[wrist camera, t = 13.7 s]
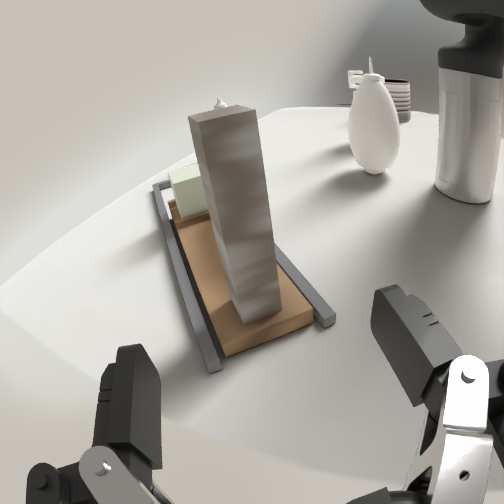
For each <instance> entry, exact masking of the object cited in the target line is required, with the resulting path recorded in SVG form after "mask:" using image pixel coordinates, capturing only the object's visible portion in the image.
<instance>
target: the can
mask: <svg viewBox="0 0 504 504" xmlns="http://www.w3.org/2000/svg"><path fill="white" fill-rule="evenodd" d="M383 84H384V85H385V87H386V88H387V90H388V91H389V93H390V95H391V97H392V100H393V102H394V105H395V108H396V111H397V114H398V119H399V122H408V121H409V120H410V83H409V82H406V81H401V80H391V79H385V83H383Z"/></svg>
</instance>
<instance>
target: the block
mask: <svg viewBox="0 0 504 504" xmlns="http://www.w3.org/2000/svg"><path fill="white" fill-rule="evenodd" d="M168 175H169V179H170V182H171V186H172V190H173V193H174V197H175V201H176V204H177V208H178V210H179V213H180V215H181V218H182V219H183V218H186V217H189V216H192V215H195V214H199V213H202V212H205V211H208V210H209V209H208V205H207V201H206V196H205V192H204V188H203V183H202V179H201V175H200V170H199V166H198V163H196V164H193V165H189V166H186V167H183V168H179V169H176V170H173V171H169V172H168Z"/></svg>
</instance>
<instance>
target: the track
mask: <svg viewBox="0 0 504 504" xmlns="http://www.w3.org/2000/svg"><path fill="white" fill-rule="evenodd" d="M152 186H153V190H154V194H155V198H156V202H157V206H158V210H159V214H160V218H161V221H162V225H163V229H164V233H165V236H166V240H167V244H168V247H169V251H170V254H171V258H172V261H173V265H174V268H175V272H176V275H177V278H178V282H179V285H180V288H181V292H182V295H183V298H184V301H185V304H186V308H187V311H188V314H189V317H190V320H191V323H192V326H193V329H194V332H195V335H196V338H197V341H198V344H199V347H200V350H201V353H202V355H203V358H204V361H205V364H206V367H207V369H208V371H209V373H210V374H211V373H214V372H216V371H219V370H222V369H223V368H222V365H221V362H220V360H219V357H218V355H217V352H216V350H215V347H214V345H213V342H212V340H211V337H210V334H209V332H208V329H207V327H206V324H205V321H204V319H203V316H202V313H201V311H200V308H199V305H198V303H197V300H196V297H195V294H194V292H193V289H192V286H191V283H190V280H189V278H188V275H187V272H186V269H185V266H184V263H183V260H182V257H181V254H180V251H179V248H178V245H177V242H176V239H175V236H174V233H173V230H172V227H171V224H170V221H169V218H168V215H167V211H166V208H165V205H164V202H163V198H162V195H161V192H160V190H162V189H165V188H168V187H171V182H170V179H169V180H166V181H163V182H160V183H157V184H153V185H152ZM274 247H275V255H276V263H277V264H278V265H279V266H280V268H281V269H282V270H283V271H284V273H285V274H286V275H287V276H288V278H289V279H290V280H291V281H292V283H293V284H294V285H295V286H296V288H297V289H298V290H299V291H300V293H301V294H302V295H303V296H304V298H305V299H306V300H307V301H308V303H309V304H310V305H311V307H312V308H313V314H314V316H315V317H316V318H317V320H318V321H319V322H320V323H321V325H322V326H323V327H324V328H325V327H328V326H330V325H332V324H334V323H335V321H336V313H335V312H334V311H333V310H332V309H331V308H330V306H329V305H328V304H327V303H326V302H325V301H324V299H323V298H322V297H321V296H320V295H319V294H318V292H317V291H316V290H315V289H314V288H313V287H312V285H311V284H310V283H309V282H308V281H307V280H306V278H305V277H304V276H303V275H302V274H301V273H300V272H299V270H298V269H297V268H296V267H295V266H294V265H293V263H292V262H291V261H290V260H289V259H288V258H287V257H286V255H285V254H284V253H283V252H282V251H281V250H280V249H279V247H278V246H277V245H276V244H275V243H274Z"/></svg>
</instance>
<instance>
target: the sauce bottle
mask: <svg viewBox="0 0 504 504" xmlns="http://www.w3.org/2000/svg"><path fill="white" fill-rule="evenodd" d="M369 69H370V73H369V74H364V75H363V79H364V80H363V81H362V82H361V83H360V85H359V86H358V88H357V90H356V93H355V95H354V98H353V101H352V105H351V109H350V114H349V125H348V131H349V142H350V147H351V150H352V153H353V155H354V157H355V159H356V161H357V163H358V165H359V166H361V167H363V169H364V170H365V171H366V172H369V173H370V174H380V173H382V172H385V170H386V169H387V168H389V167H391V165H392V164H393V162H394V160H395V158H396V156H397V153H398V149H399V143H400V126H399V119H398V114H397V111H396V108H395V105H394V102H393V100H392V97H391V95H390V93H389V91H388V90H387V88H386V87H385V85H384V84H383V83H382V82H381V81H380V80H379V79H381V77H380V75H378V74H373V68H372V61H371V58H370V57H369Z"/></svg>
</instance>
